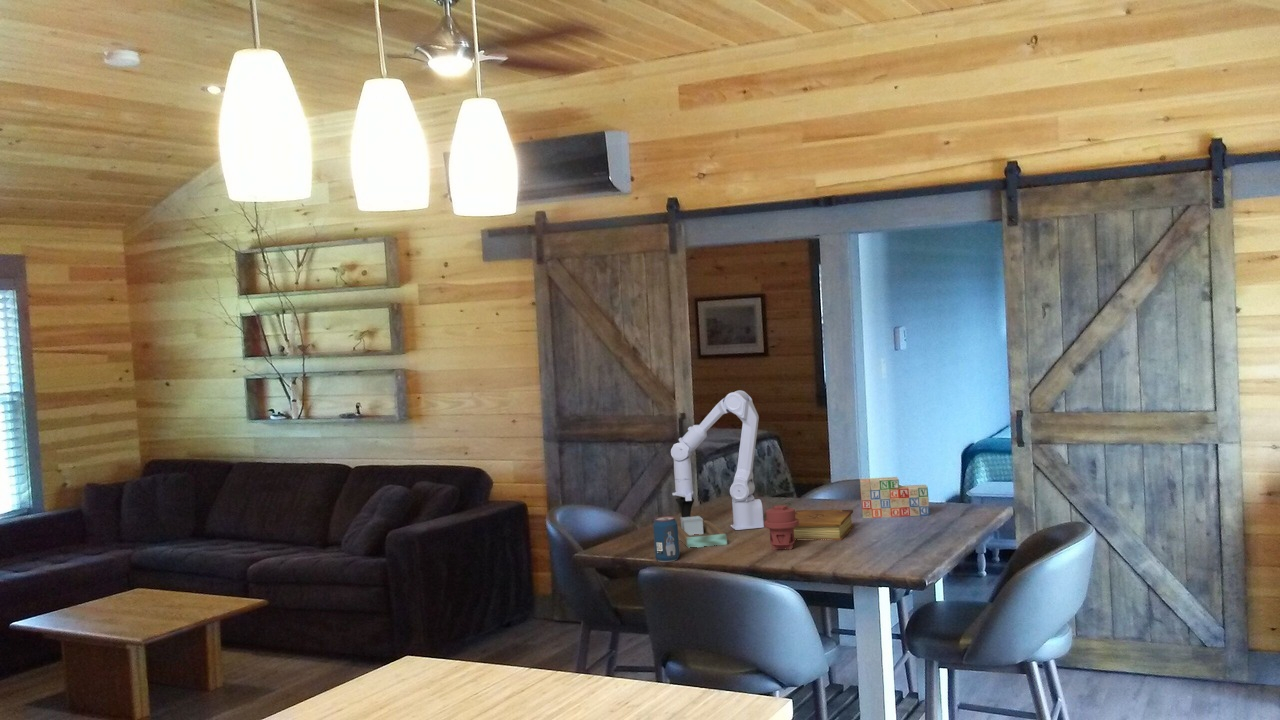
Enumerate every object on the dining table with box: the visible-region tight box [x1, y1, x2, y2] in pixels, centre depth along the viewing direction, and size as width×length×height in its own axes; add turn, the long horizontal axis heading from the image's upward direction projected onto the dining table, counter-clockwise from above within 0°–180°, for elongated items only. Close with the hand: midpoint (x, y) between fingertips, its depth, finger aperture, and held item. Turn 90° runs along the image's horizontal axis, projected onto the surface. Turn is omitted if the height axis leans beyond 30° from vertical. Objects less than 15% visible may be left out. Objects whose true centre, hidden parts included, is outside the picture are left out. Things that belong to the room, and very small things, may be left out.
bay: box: [677, 519, 728, 549], centre depth 352 cm, size 12×28×3 cm, turn 8°
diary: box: [794, 509, 855, 541], centre depth 348 cm, size 23×19×6 cm
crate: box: [679, 515, 704, 536], centre depth 361 cm, size 6×6×5 cm
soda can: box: [652, 515, 680, 563], centre depth 322 cm, size 7×7×12 cm
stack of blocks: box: [859, 476, 930, 519], centre depth 369 cm, size 21×6×12 cm, turn 80°
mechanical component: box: [763, 504, 799, 550], centre depth 327 cm, size 12×10×10 cm
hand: (686, 519), depth 371 cm, fingers closed
